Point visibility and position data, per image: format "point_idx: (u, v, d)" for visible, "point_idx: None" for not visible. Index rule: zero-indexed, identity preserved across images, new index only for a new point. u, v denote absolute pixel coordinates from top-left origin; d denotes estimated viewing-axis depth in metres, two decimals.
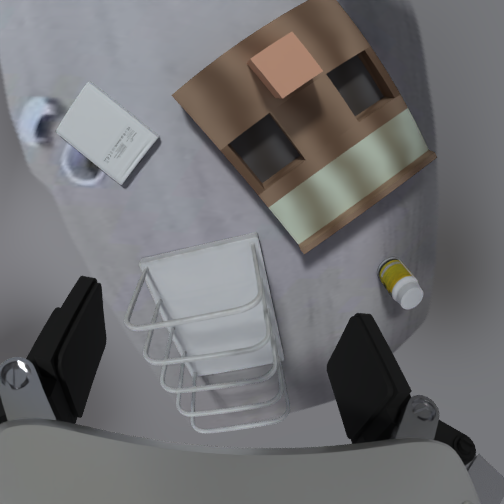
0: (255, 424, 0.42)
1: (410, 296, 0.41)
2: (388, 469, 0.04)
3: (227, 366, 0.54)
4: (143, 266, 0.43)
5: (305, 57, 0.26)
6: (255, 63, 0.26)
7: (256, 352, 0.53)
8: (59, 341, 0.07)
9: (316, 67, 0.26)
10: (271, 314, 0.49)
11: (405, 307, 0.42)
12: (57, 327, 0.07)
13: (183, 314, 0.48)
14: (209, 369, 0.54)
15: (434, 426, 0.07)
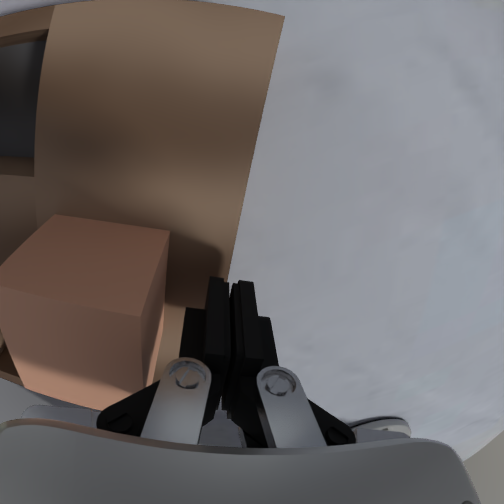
0: None
1: None
2: (388, 469, 0.04)
3: None
4: None
5: (67, 393, 0.09)
6: (114, 315, 0.07)
7: None
8: (224, 336, 0.09)
9: (36, 387, 0.09)
10: None
11: None
12: (215, 324, 0.09)
13: None
14: None
15: (301, 394, 0.08)
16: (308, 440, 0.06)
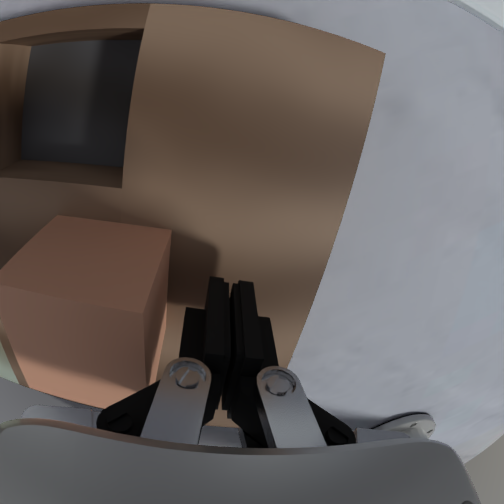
0: None
1: None
2: (388, 469, 0.04)
3: None
4: None
5: (71, 391, 0.09)
6: (117, 312, 0.07)
7: None
8: (224, 336, 0.09)
9: (39, 385, 0.09)
10: None
11: None
12: (215, 324, 0.09)
13: None
14: None
15: (301, 394, 0.08)
16: (308, 440, 0.06)
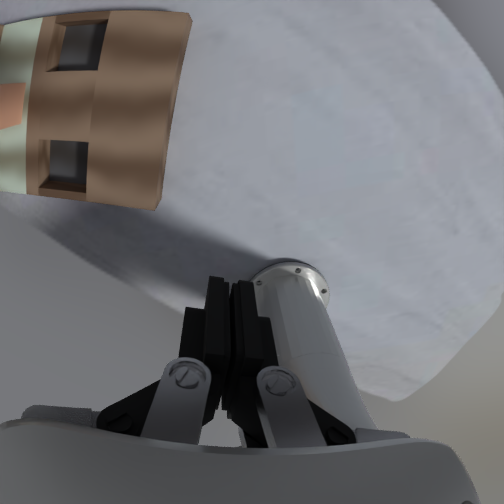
0: None
1: None
2: (388, 469, 0.04)
3: None
4: None
5: None
6: None
7: None
8: (224, 336, 0.09)
9: None
10: None
11: None
12: (215, 324, 0.09)
13: None
14: None
15: (301, 394, 0.08)
16: (308, 440, 0.06)
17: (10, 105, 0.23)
